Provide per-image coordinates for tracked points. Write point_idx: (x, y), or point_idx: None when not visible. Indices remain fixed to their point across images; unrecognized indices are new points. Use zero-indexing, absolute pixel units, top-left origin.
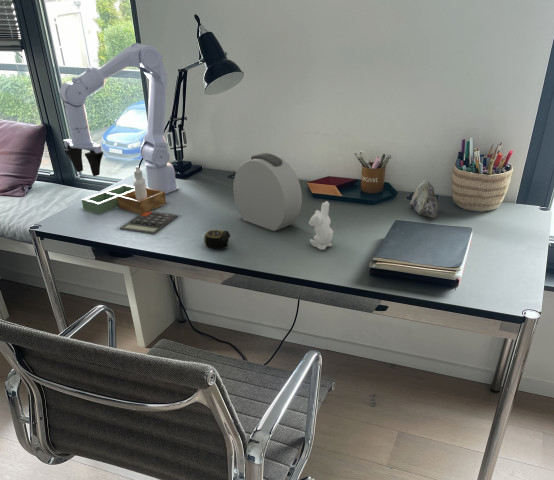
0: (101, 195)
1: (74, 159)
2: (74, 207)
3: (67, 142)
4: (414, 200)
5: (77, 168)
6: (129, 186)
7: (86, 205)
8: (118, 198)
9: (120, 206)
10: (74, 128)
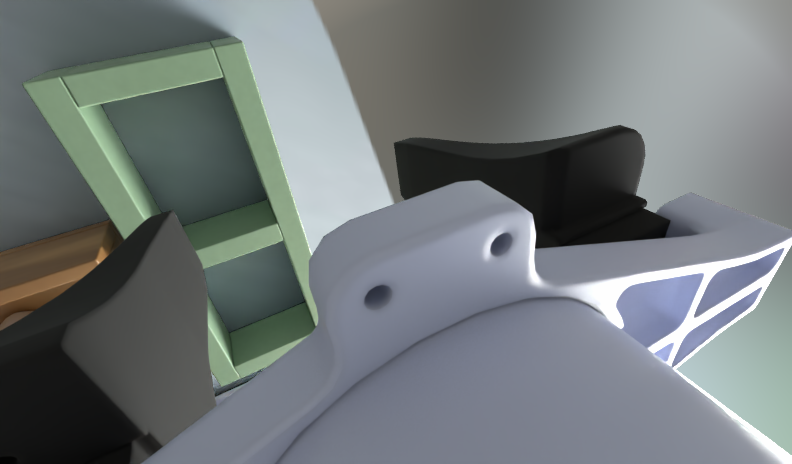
0: (267, 195)
1: (464, 178)
2: (310, 14)
3: (705, 246)
4: None
5: (409, 156)
6: (285, 349)
7: (192, 46)
8: (87, 254)
9: (92, 230)
10: None
